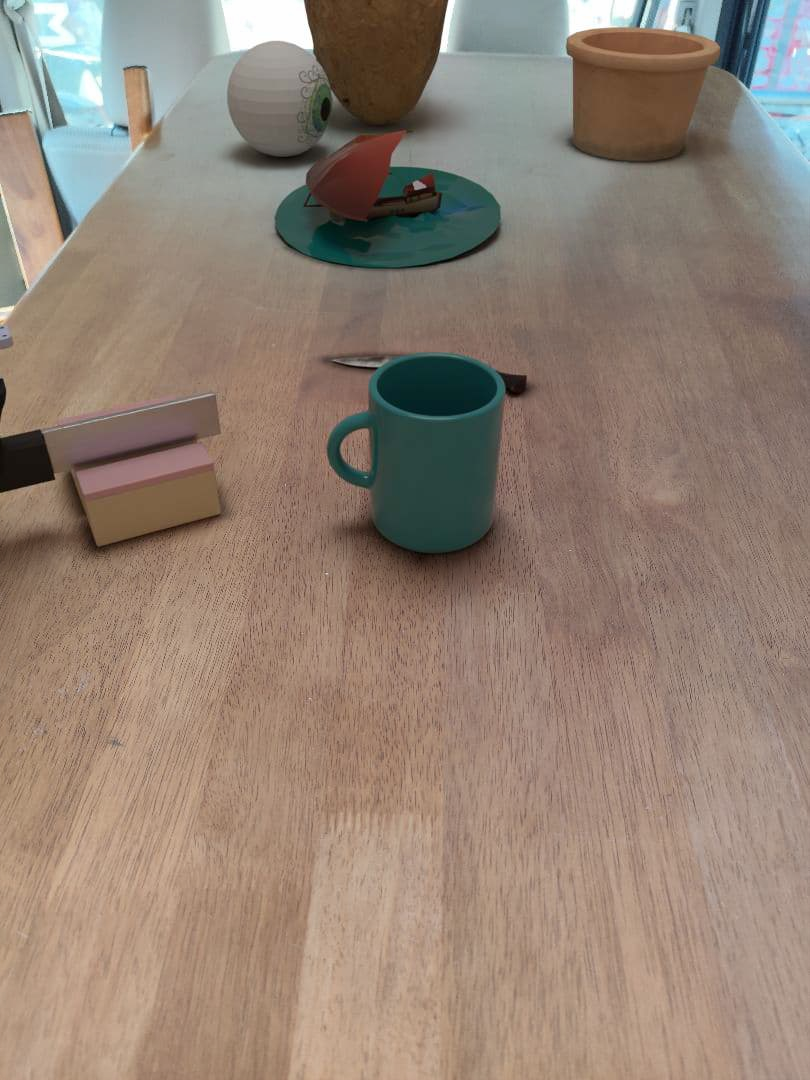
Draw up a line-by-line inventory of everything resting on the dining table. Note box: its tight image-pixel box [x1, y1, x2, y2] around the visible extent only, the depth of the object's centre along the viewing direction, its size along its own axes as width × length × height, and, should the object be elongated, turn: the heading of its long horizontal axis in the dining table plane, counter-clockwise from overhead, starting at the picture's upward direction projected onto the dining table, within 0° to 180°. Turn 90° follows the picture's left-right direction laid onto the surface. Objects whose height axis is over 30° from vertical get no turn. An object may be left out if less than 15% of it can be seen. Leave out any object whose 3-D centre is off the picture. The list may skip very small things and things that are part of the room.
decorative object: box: [226, 40, 333, 158], centre depth 129 cm, size 15×15×15 cm
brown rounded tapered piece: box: [303, 0, 449, 126], centre depth 139 cm, size 22×22×25 cm
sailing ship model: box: [274, 129, 502, 269], centre depth 109 cm, size 28×28×11 cm
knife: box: [331, 355, 528, 394], centre depth 83 cm, size 18×1×5 cm
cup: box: [326, 351, 507, 554], centre depth 63 cm, size 9×12×11 cm
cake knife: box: [0, 391, 222, 494], centre depth 62 cm, size 20×2×3 cm, turn 116°
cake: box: [56, 394, 198, 512], centre depth 69 cm, size 9×6×5 cm, turn 116°
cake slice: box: [76, 441, 222, 548], centre depth 64 cm, size 9×3×5 cm, turn 116°
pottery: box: [565, 26, 721, 162], centre depth 135 cm, size 22×22×14 cm
